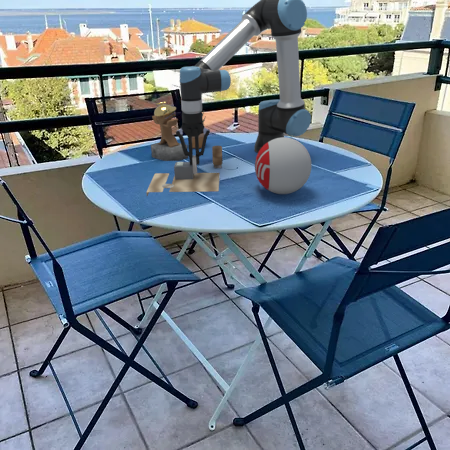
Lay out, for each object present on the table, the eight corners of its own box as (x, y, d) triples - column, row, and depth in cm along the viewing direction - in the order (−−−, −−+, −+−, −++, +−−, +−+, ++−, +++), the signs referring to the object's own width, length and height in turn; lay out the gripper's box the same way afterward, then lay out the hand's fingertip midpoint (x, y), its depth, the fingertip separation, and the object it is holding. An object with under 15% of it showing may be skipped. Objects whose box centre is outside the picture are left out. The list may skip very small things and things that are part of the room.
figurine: (189, 157, 203) (186, 101, 192) (171, 163, 196) (167, 105, 185) (169, 151, 212) (165, 97, 201) (151, 157, 204) (146, 101, 193)
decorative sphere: (253, 182, 173) (254, 131, 164) (305, 182, 172) (309, 130, 163) (255, 203, 155) (256, 146, 146) (313, 202, 154) (317, 146, 145)
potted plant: (189, 143, 223) (186, 92, 212) (208, 144, 222) (206, 92, 211) (185, 149, 214) (182, 96, 203) (204, 150, 213) (202, 96, 202)
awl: (222, 168, 188) (222, 145, 184) (222, 171, 184) (221, 148, 180) (213, 168, 188) (212, 145, 184) (212, 172, 184) (212, 148, 180)
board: (219, 176, 180) (219, 172, 179) (218, 195, 162) (218, 191, 161) (155, 176, 180) (154, 173, 180) (146, 196, 162) (146, 192, 162)
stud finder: (194, 173, 178) (193, 160, 176) (193, 179, 173) (192, 165, 171) (176, 174, 178) (175, 161, 176) (174, 179, 173) (174, 166, 171)
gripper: (210, 109, 168) (212, 169, 178) (175, 109, 168) (179, 169, 178) (209, 113, 161) (211, 175, 171) (173, 114, 161) (177, 176, 172)
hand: (195, 172), depth 175 cm, fingers closed
